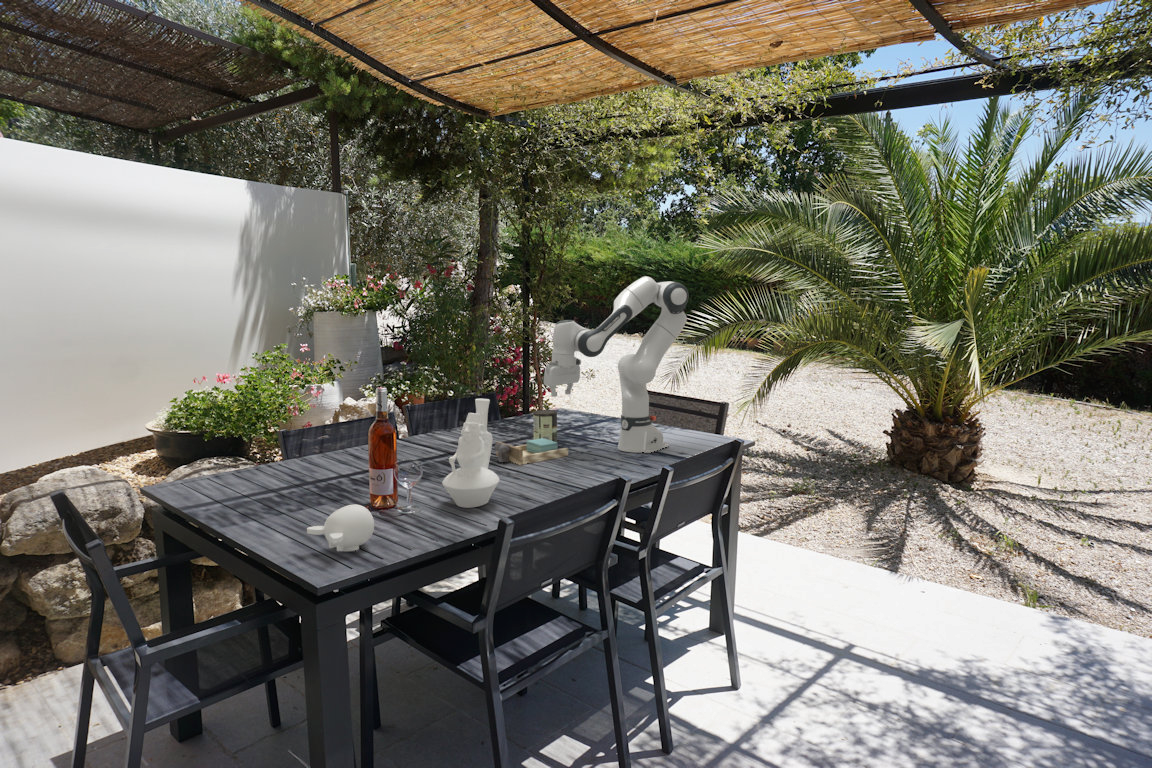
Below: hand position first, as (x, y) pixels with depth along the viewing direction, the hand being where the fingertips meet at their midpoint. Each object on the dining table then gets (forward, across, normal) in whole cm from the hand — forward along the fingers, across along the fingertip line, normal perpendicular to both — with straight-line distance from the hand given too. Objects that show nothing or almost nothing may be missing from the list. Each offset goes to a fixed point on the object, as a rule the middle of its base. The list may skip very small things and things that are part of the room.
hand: (561, 395), depth 286 cm
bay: (+25, -12, +6) cm, 28 cm away
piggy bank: (+28, -116, -15) cm, 120 cm away
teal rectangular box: (+23, -5, +4) cm, 24 cm away
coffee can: (+24, +10, +14) cm, 30 cm away
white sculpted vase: (+26, -66, -16) cm, 73 cm away
